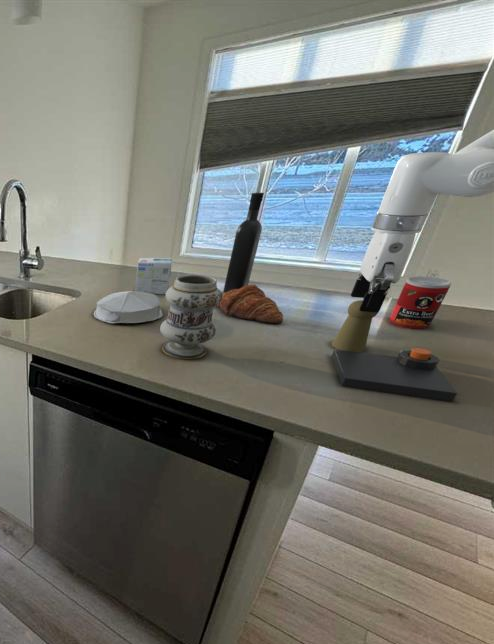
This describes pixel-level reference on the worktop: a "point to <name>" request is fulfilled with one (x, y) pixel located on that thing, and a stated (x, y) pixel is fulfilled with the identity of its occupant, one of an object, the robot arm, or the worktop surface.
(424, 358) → the button
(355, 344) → the cork
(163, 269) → the light bulb box
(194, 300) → the apothecary jar
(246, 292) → the pastry
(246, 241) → the wine bottle
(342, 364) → the scale
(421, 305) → the canned food
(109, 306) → the food container
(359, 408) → the worktop surface
